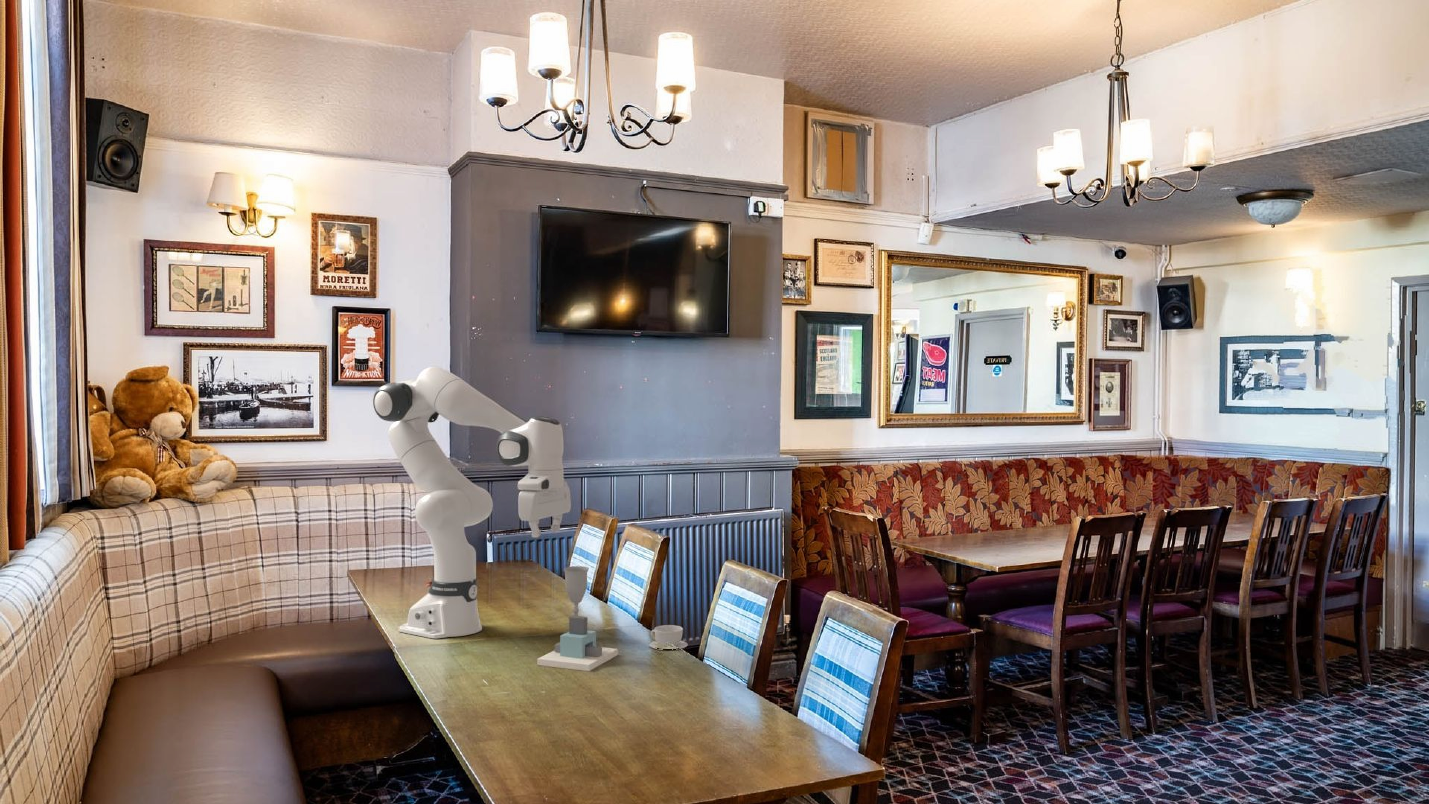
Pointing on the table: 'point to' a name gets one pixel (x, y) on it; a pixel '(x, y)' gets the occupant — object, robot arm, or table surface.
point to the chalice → (576, 584)
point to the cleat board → (589, 662)
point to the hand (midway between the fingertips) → (545, 534)
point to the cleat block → (576, 638)
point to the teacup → (668, 636)
